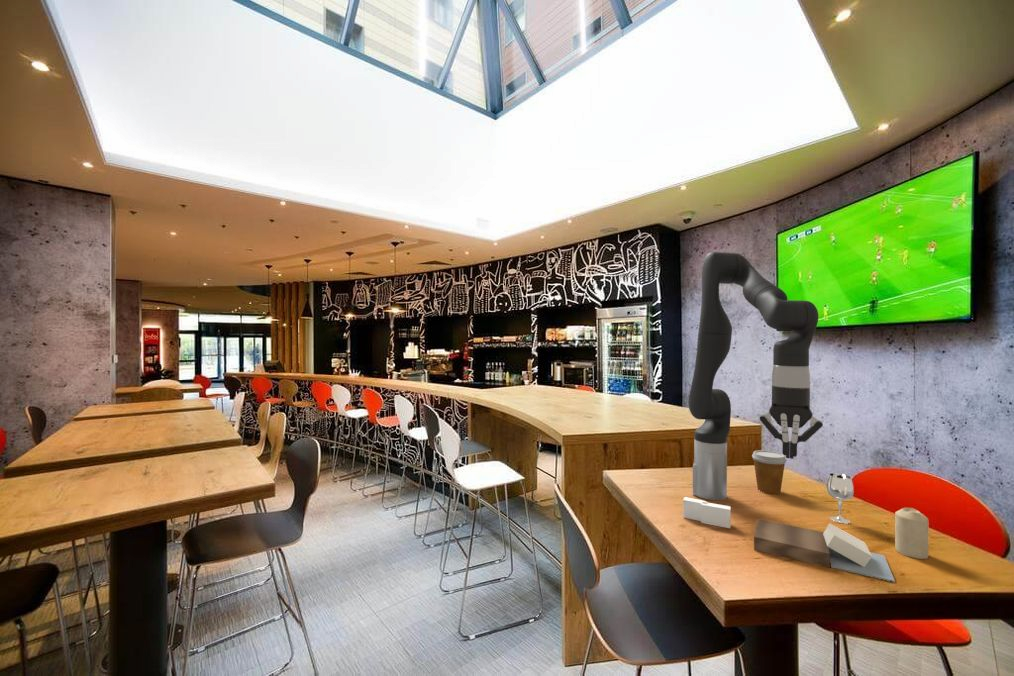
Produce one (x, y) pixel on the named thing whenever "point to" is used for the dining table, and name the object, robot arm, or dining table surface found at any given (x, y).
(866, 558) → the white block
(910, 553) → the candle
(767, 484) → the disposable coffee cup
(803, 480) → the dining table surface
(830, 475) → the wineglass
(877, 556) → the mat
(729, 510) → the napkin holder
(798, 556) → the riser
